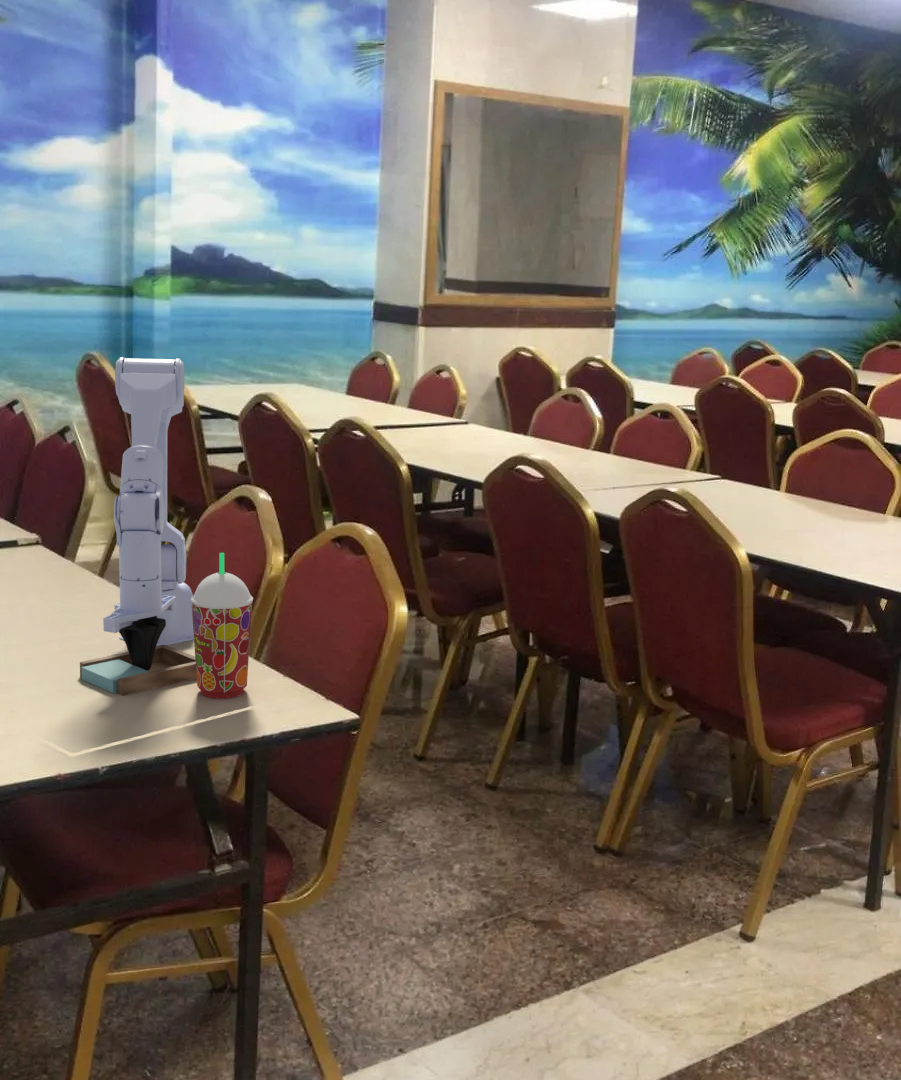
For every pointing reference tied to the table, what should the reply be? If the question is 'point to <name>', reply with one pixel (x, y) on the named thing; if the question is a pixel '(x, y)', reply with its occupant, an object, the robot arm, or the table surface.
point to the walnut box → (153, 670)
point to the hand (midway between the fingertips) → (142, 669)
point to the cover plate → (109, 674)
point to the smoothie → (221, 634)
